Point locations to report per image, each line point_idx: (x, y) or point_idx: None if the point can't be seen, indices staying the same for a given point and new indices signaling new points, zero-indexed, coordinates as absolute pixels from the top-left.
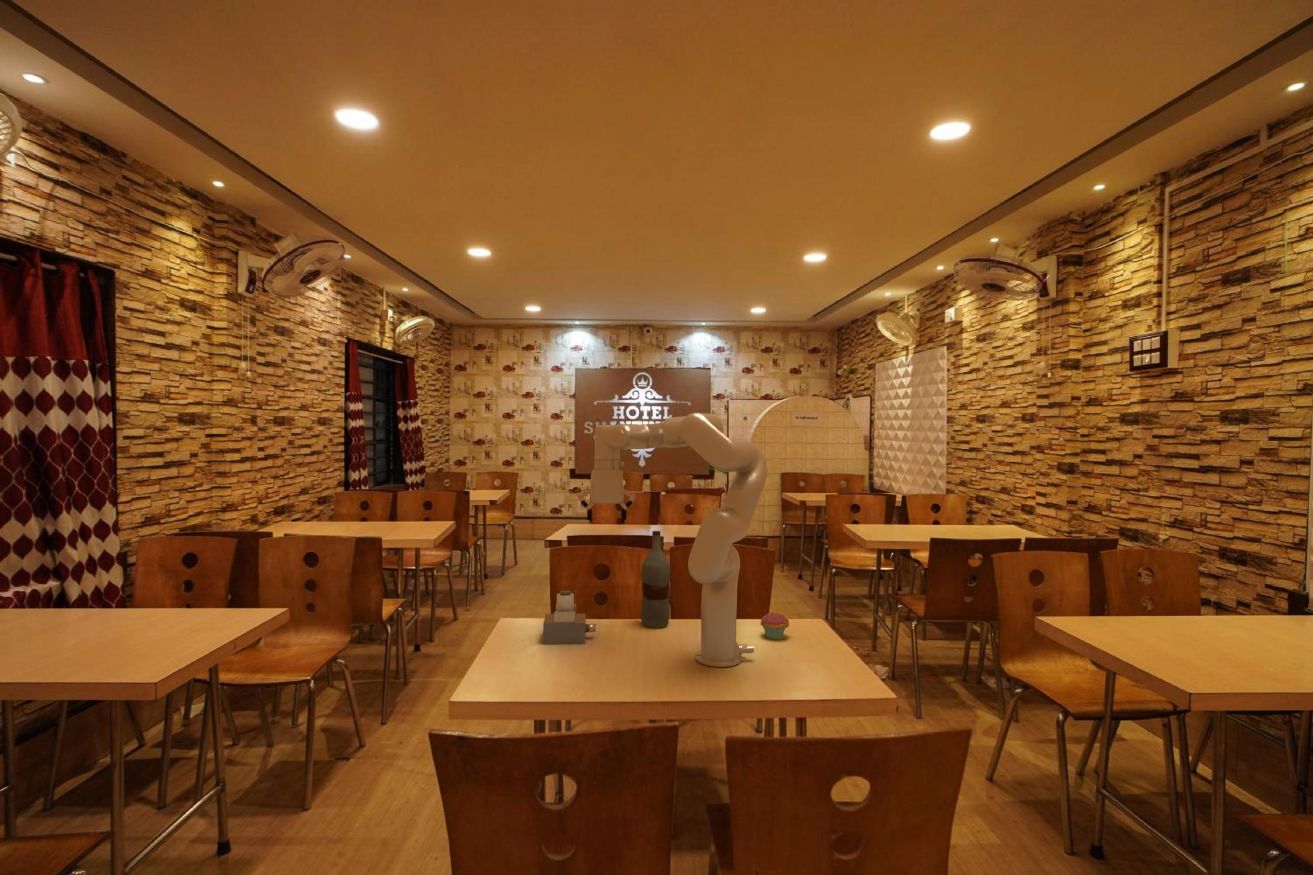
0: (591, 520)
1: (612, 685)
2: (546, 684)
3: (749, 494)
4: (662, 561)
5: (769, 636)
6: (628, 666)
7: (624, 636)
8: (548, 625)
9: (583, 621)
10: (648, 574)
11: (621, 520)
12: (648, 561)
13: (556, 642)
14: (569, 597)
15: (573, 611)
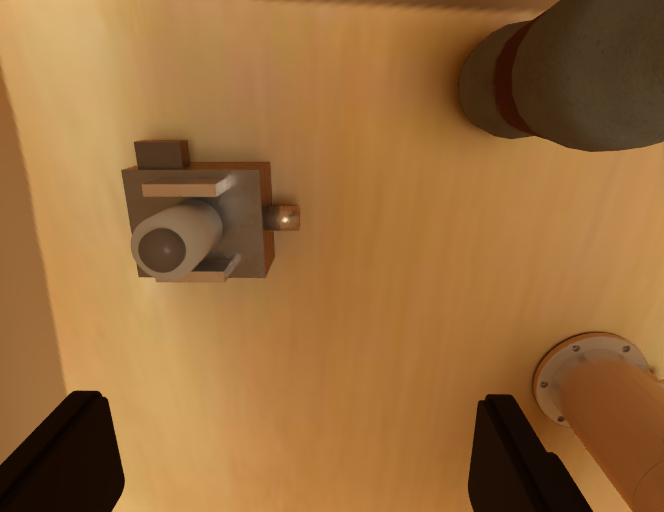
0: (108, 510)
1: (338, 480)
2: (217, 469)
3: None
4: None
5: None
6: (376, 402)
7: (386, 200)
8: None
9: (258, 261)
10: (552, 135)
11: (477, 487)
12: (595, 114)
13: None
14: (186, 273)
15: (218, 274)
